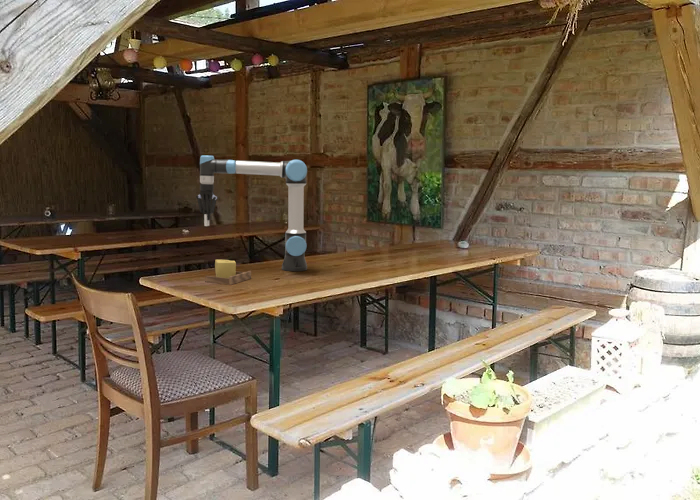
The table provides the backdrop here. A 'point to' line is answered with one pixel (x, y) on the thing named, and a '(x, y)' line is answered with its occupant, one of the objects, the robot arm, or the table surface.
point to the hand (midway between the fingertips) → (206, 225)
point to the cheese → (225, 268)
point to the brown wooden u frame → (231, 280)
